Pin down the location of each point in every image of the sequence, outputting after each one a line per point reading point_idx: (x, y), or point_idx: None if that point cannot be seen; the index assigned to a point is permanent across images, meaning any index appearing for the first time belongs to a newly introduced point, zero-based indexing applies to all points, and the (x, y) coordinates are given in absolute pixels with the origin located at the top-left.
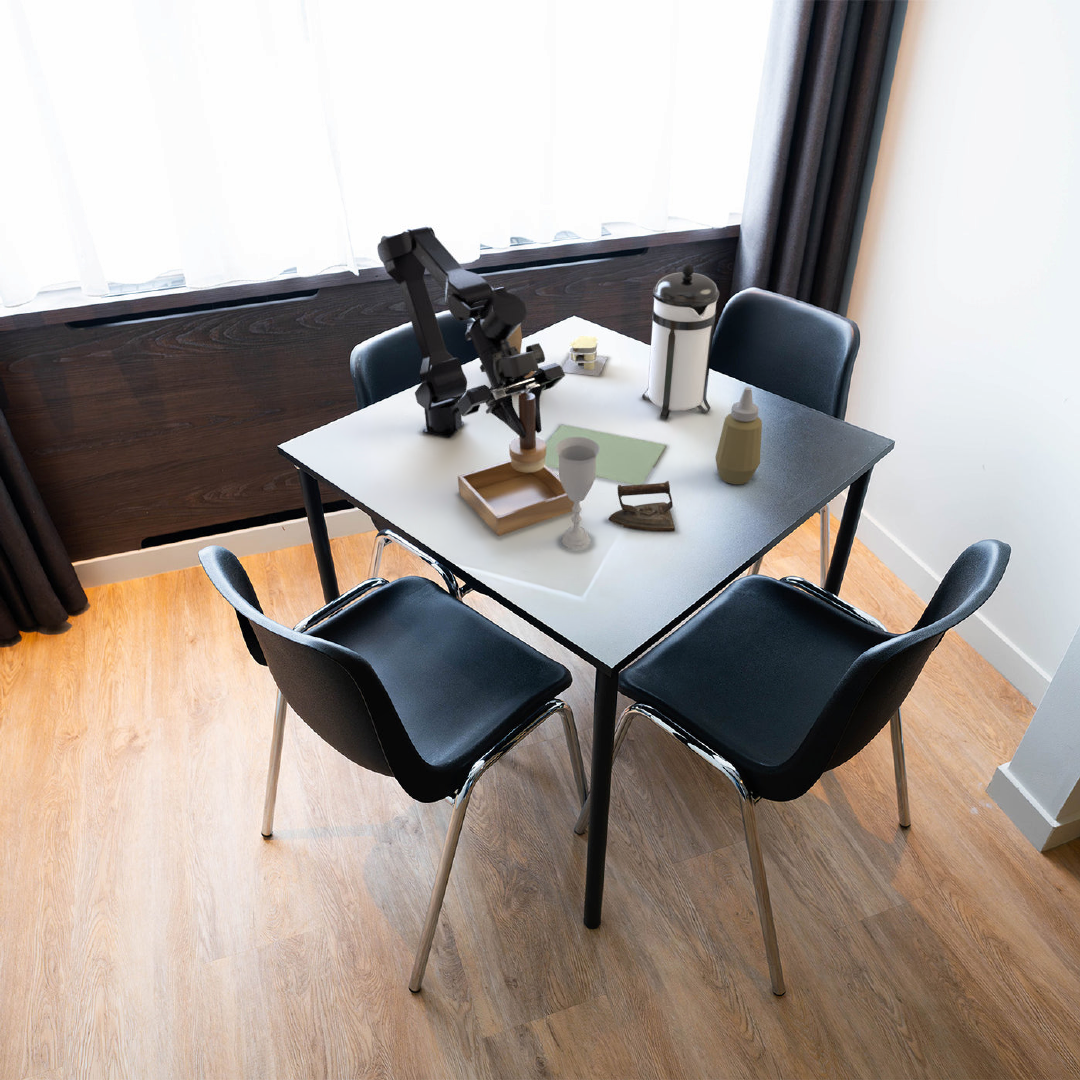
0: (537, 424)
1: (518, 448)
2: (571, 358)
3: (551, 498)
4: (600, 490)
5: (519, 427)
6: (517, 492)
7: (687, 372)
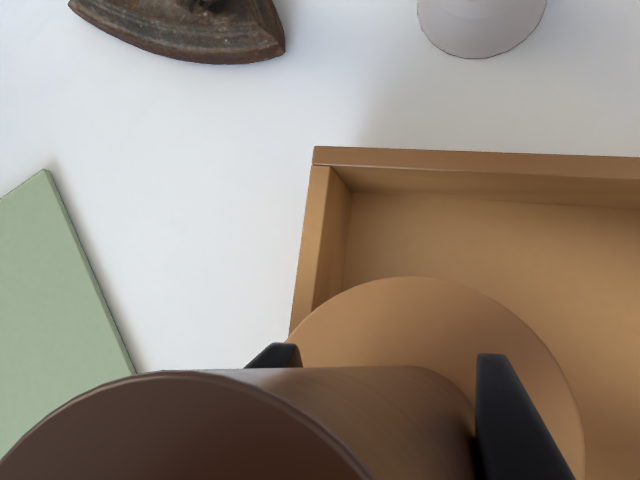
0: None
1: None
2: None
3: (452, 166)
4: (167, 247)
5: (538, 432)
6: None
7: None
